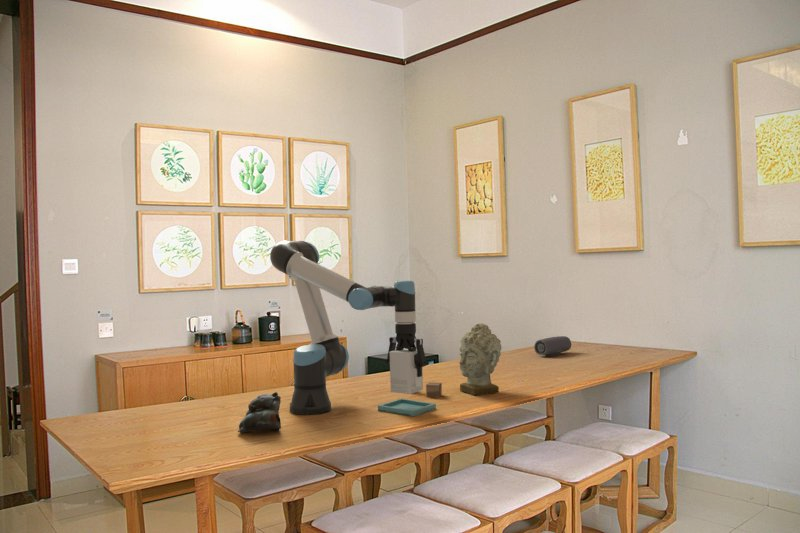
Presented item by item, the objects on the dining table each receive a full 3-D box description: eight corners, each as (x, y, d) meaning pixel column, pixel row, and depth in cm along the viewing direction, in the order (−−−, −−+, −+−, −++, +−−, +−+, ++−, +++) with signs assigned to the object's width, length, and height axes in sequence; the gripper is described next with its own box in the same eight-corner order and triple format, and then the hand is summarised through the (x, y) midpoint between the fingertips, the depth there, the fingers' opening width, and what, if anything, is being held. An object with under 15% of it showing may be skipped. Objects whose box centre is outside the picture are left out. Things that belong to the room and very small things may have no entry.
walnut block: (438, 397, 256) (438, 385, 256) (426, 397, 258) (426, 384, 258) (441, 395, 261) (441, 382, 261) (429, 394, 263) (429, 382, 263)
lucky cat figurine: (229, 433, 208) (234, 391, 215) (257, 440, 217) (261, 399, 223) (262, 425, 200) (265, 382, 207) (289, 433, 209) (292, 391, 216)
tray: (412, 416, 227) (412, 411, 227) (377, 410, 237) (377, 405, 237) (435, 408, 238) (435, 403, 238) (401, 403, 248) (401, 398, 248)
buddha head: (449, 390, 269) (448, 323, 269) (486, 386, 278) (485, 320, 278) (472, 398, 254) (471, 327, 254) (510, 393, 263) (509, 324, 262)
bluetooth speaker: (558, 352, 370) (558, 334, 370) (572, 353, 363) (572, 336, 362) (533, 356, 355) (533, 338, 355) (547, 358, 348) (547, 339, 348)
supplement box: (424, 390, 238) (423, 349, 238) (410, 394, 231) (409, 352, 231) (403, 387, 243) (402, 348, 243) (389, 392, 236) (388, 351, 236)
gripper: (436, 323, 233) (437, 385, 233) (388, 320, 246) (389, 379, 247) (423, 325, 227) (425, 389, 227) (375, 322, 240) (377, 382, 241)
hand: (406, 384), depth 237 cm, fingers closed on supplement box, 9 cm apart
